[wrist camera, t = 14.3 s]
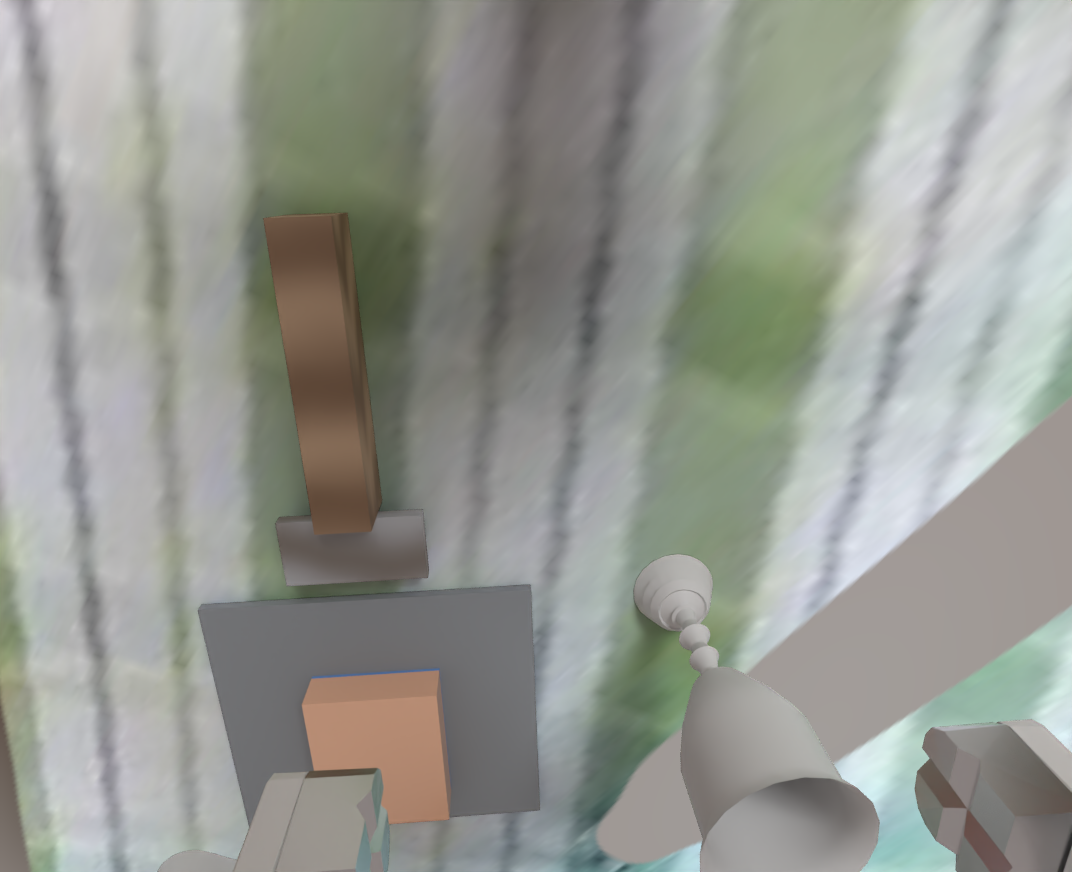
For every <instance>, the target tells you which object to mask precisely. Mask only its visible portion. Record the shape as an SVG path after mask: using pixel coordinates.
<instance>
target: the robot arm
mask: <svg viewBox="0 0 1072 872" xmlns="http://www.w3.org/2000/svg"><path fill="white" fill-rule="evenodd" d="M922 748H923V750H924V751H925V752H926V754H927V755H928V757H929V758H930V759H929V760H928V761H927V762H926V763H925V764H924V765H923V766H922V767H921V768H920V769H919V770H918V771H917V776H916V783H915V794H916V799H917V804H918V809H919V811H920V814H921V816H922V818H923V820H924V823H925V825H926V826H927V828H928V829H929V831H930V832H931V834H932V835H933V837H934V839H935V840H936V841H937V842H939V843H940V844H942V845H943V846H945V847H946V848H948V849H949V850H951V851H952V852H954V853H955V854H956V871H957V872H1072V753H1071V752H1070V751H1069V750H1068V749H1067V748H1066V747H1065V746H1064V745H1063V744H1062V743H1061V742H1060V741H1059V740H1058V739H1057V738H1056V737H1055V736H1054V735H1053V734H1052V733H1051V732H1050V731H1049V730H1048V729H1047V728H1046V727H1045V726H1043V725H1042V724H1040V723H1038V722H1036V721H1034V720H1032V719H1027V720H1015V721H1003V722H997V723H993V722H990V723H978V724H966V725H954V726H942V727H932V728H931V729H930V730H929V731H928V732H927V733H926V734H925V738H924V742H923V747H922ZM383 789H384V785H383V780H382V774H381V770H380V769H379V768H362V769H340V770H318V771H309V772H290V773H274V774H273V775H272V777H271V778H270V779H269V780H268V782H267V783H266V785H265V788H264V791H263V793H262V796H261V798H260V801H259V804H258V806H257V809H256V812H255V814H254V817H253V820H252V822H251V825H250V827H249V830H248V833H247V835H246V838H245V841H244V843H243V846H242V849H241V851H240V854H239V856H238V859H237V862H236V864H235V867H234V870H233V872H387V870H388V861H389V843H390V838H389V821H388V813H387V810H386V809H385V808H384V807H382V806H381V801H382V795H383Z"/></svg>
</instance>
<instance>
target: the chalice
mask: <svg viewBox="0 0 1072 872" xmlns="http://www.w3.org/2000/svg"><path fill="white" fill-rule="evenodd" d="M712 590H713V581H712V576H711V574H710V572H709V570H708V568H707V567H706V566H705V565H704V564H703V563H702V562H701V561H700V560H698V559H696V558H693V557H691V556H688V555H680V554H675V555H669V556H664V557H661V558H659V559H657V560H655V561H653V562H651V563H650V564H649V565H648V566H647V567H646V568H644V569H643V570H642V572H641V573H640V575H639V577H638V578H637V580H636V583H635V587H634V599H635V603H636V605H637V607H638V609H639V610H640V612H642V613H643V614H644V615H645V616H646V617H647V618H649V619H651V620H652V621H653V622H654V623H656V624H658V625H659V626H660V627H662V628H664V629H667V630H669V631H682V632H681V634H680V637H679V642H680V644H681V646H682V647H683V648H685V649H687V650H691V651H692V655H691V657H690V665H691V667H692V668H693V669H695V670H697V671H699V672H700V674H701V676H699V677H698V678H697V680H696V681H695V683H694V684H693V687H692V690H691V693H690V697H689V701H688V705H687V709H686V713H685V717H684V721H683V725H682V740H681V753H680V757H681V773H682V776H683V779H684V782H685V785H686V788H687V791H688V795H689V798H690V801H691V804H692V807H693V810H694V813H695V816H696V819H697V823H698V826H699V829H700V832H701V835H702V838H703V840H702V846H701V851H700V872H860V871H861V870H862V869H863V868H864V866H865V865H866V864H867V863H868V861H869V859H870V857H871V855H872V853H873V851H874V849H875V847H876V845H877V842H878V833H879V824H880V822H879V819H878V816H877V813H876V810H875V808H874V805H873V803H872V802H871V801H870V800H869V799H868V798H867V797H866V796H865V795H864V794H863V793H862V792H861V791H860V790H859V789H858V788H856V787H855V786H853V785H851V784H850V783H848V782H846V781H845V780H843V779H842V778H841V776H840V774H839V773H838V771H837V769H836V768H835V766H834V764H833V763H832V761H831V759H830V757H829V756H828V754H827V752H826V751H825V749H824V747H823V745H822V744H821V742H820V740H819V739H818V737H817V735H816V734H815V732H814V730H813V728H812V727H811V725H810V723H809V722H808V720H807V718H806V717H805V716H804V715H803V714H802V713H801V712H800V711H799V710H798V709H797V708H796V707H795V706H794V705H793V704H791V703H790V702H789V701H788V700H786V699H785V698H783V697H782V696H781V695H780V694H778V693H777V692H776V691H774V690H773V689H772V688H770V687H769V686H767V685H765V684H763V683H761V682H760V681H758V680H756V679H753V678H752V677H750V676H748V675H746V674H744V673H742V672H740V671H738V670H736V669H733V668H731V667H718V663H717V662H718V660H719V653H718V651H717V650H716V649H715V648H713V647H711V646H708V645H707V642H708V641H709V638H710V631H709V629H708V628H707V627H706V626H704V625H702V624H700V623H701V622H702V621H703V620H704V618H705V617H706V615H707V614H708V612H709V609H710V605H711V602H710V601H711V598H712V594H711V593H712Z"/></svg>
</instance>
